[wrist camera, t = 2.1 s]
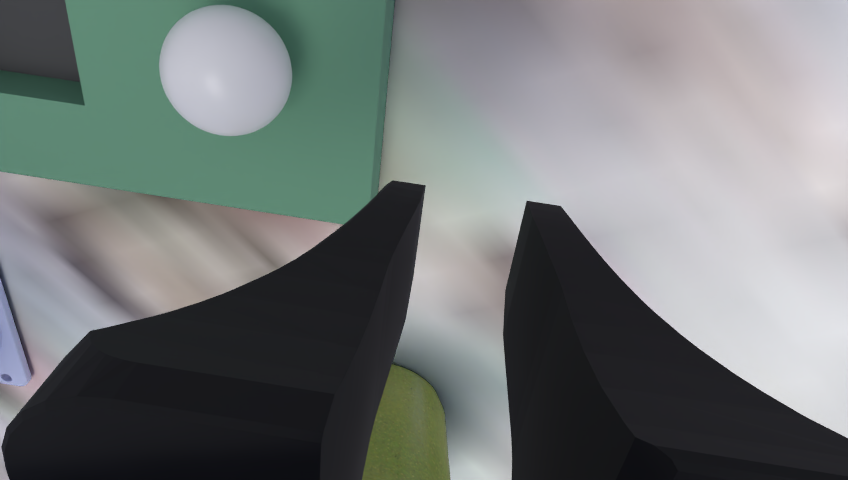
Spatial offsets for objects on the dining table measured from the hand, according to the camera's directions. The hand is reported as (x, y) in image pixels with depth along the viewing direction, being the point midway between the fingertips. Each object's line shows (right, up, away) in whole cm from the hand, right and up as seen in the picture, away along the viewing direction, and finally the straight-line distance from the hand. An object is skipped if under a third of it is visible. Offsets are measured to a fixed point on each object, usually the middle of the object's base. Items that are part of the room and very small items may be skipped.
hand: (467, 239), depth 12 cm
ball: (-6, +5, +6) cm, 10 cm away
